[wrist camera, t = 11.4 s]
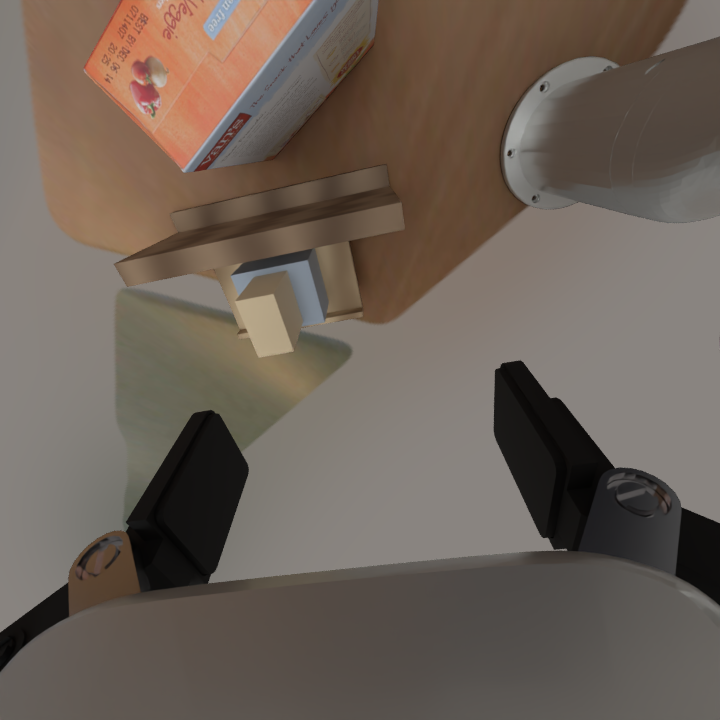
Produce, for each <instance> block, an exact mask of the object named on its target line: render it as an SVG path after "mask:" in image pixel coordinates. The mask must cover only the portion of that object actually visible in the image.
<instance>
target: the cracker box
mask: <svg viewBox="0 0 720 720" xmlns="http://www.w3.org/2000/svg"><path fill="white" fill-rule="evenodd" d="M377 10H378V0H121V1H120V3H119V4H118V6H117V8H116V10H115V12H114V14H113V15H112V17H111V19H110V21H109V23H108V25H107V26H106V28H105V30H104V32H103V34H102V35H101V37H100V39H99V41H98V43H97V45H96V46H95V48H94V50H93V52H92V53H91V55H90V57H89V59H88V61H87V63H86V65H85V67H84V71H85V73H86V74H87V75H88V76H89V77H90V78H91V79H92V80H93V81H94V82H95V83H96V84H97V85H98V86H99V87H100V88H101V89H102V90H103V91H104V92H105V93H106V94H107V95H108V96H109V97H110V98H111V99H112V100H113V101H114V102H115V103H116V104H117V105H118V106H119V107H120V108H121V109H122V110H123V111H124V112H125V113H126V114H127V115H128V116H129V117H130V118H131V119H132V120H133V121H134V122H135V123H136V124H137V125H138V126H139V127H140V128H141V129H142V130H143V131H144V132H145V133H146V134H147V135H148V136H149V137H150V138H151V139H152V140H153V141H154V142H155V143H156V144H157V145H158V146H159V147H160V148H161V149H162V150H163V151H164V152H165V153H166V154H167V155H168V156H169V157H170V158H171V159H172V160H173V161H174V162H175V163H176V164H177V165H178V166H179V167H180V168H181V170H182V171H183V172H195V171H201V170H206V169H213V168H220V167H227V166H234V165H240V164H247V163H253V162H260V161H267V160H273V159H274V158H275V157H276V156H277V154H278V153H279V152H280V151H281V150H282V149H283V148H284V147H285V145H286V144H287V143H288V142H289V141H290V140H291V139H292V137H293V136H294V135H295V134H296V133H297V132H298V131H299V129H300V128H301V127H302V126H303V125H304V124H305V123H306V121H307V120H308V119H309V118H310V117H311V116H312V115H313V113H314V112H315V111H316V110H317V109H318V108H319V107H320V105H321V104H322V103H323V102H324V101H325V100H326V99H327V97H328V96H329V95H330V94H331V93H332V92H333V90H334V89H335V88H336V87H337V86H338V85H339V84H340V82H341V81H342V80H343V79H344V78H345V77H346V76H347V74H348V73H349V72H350V71H351V70H352V69H353V68H354V66H355V65H356V64H357V63H358V62H359V61H360V60H361V58H362V57H363V56H364V55H365V54H366V53H367V52H368V50H369V49H370V48H371V47H372V46H373V44H374V39H375V29H376V20H377Z"/></svg>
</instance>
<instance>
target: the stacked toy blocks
mask: <svg viewBox="0 0 720 720" xmlns="http://www.w3.org/2000/svg"><path fill="white" fill-rule="evenodd" d="M231 278H232V281H233V283H234V286H235V288H236V290H237V293H238V295H239V297H238V298H237V299H236V300H235V303H236V306H237V308H238V310H239V313H240V315H241V317H242V320H243V322H244V324H245V327H246V329H247V332H248V334H249V336H250V339H251V341H252V343H253V346H254V348H255V350H256V353H257V355H258V357H265V356H270V355H276V354H282V353H288V352H293V351H294V349H295V346H296V343H297V340H298V336H299V333H300V330H301V327H303V326H308V325H314V324H319V323H324V322H325V320H326V314H327V309H328V304H329V300H328V296H327V293H326V289H325V285H324V281H323V277H322V274H321V270H320V266H319V262H318V258H317V254H316V251H315V248H313V249H308V250H303V251H298V252H293V253H288V254H284V255H279V256H274V257H269V258H264V259H259V260H255V261H250V262H245V263H242V264H241V265H240V266H239V267H238V268H237V269H236V270H235V271H234V273H233V274H232V275H231Z"/></svg>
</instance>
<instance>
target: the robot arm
mask: <svg viewBox="0 0 720 720" xmlns="http://www.w3.org/2000/svg"><path fill="white" fill-rule="evenodd" d="M603 71H604V72H603ZM540 85H542V86H543V89H542V91H541V92H540ZM509 150H510V152H511V153H510V155H509V156H507V153H508V151H509ZM500 160H501V169H502V173H503V177H504V180H505V183H506V184H507V186H508V188H509V190H510V191H511V192H512V193H513V195H514V196H515V197H516V198H517V199H519V200H520V201H522V202H523V203H525V204H527V205H529V206H532V207H535V208H540V209H559V208H564V207H567V206H570V205H573V204H575V203H578V202H582V203H586V204H590V205H594V206H598V207H602V208H606V209H609V210H613V211H618V212H621V213H625V214H629V215H633V216H637V217H642V218H646V219H650V220H654V221H659V222H666V223H687V222H694V221H700V220H705V219H709V218H713V217H716V216H719V215H720V37H717V38H714V39H711V40H707V41H704V42H701V43H697V44H694V45H691V46H687V47H684V48H681V49H677V50H674V51H671V52H667V53H664V54H660V55H657V56H654V57H650V58H647V59H644V60H640V61H637V62H634V63H630V64H627V65H624V66H619V65H618V64H617V63H615V62H613V61H611V60H608V59H606V58H602V57H594V56H590V57H582V58H576V59H573V60H570V61H568V62H565V63H563V64H561V65H559V66H557V67H554V68H552V69H551V70H550V71H548V72H547V73H545V74H544V75H543V76H541V77H540V78H539V79H538V80H537V81H536V82H535V83H534V84H532V85H531V86H530V87H529V88H528V90H527V91H526V92H525V93H524V95H523V96H522V97H521V99H520V100H519V101H518V103H517V105H516V106H515V108H514V110H513V112H512V114H511V115H510V118H509V120H508V123H507V125H506V128H505V131H504V135H503V139H502V144H501V156H500ZM533 196H534V199H533V200H532V197H533ZM719 345H720V340H719ZM494 395H495V397H494V435H495V438H496V441H497V443H498V445H499V447H500V449H501V452H502V454H503V456H504V458H505V460H506V462H507V464H508V466H509V469H510V471H511V473H512V475H513V478H514V480H515V482H516V484H517V486H518V488H519V490H520V493H521V495H522V497H523V499H524V501H525V503H526V505H527V508H528V510H529V512H530V514H531V516H532V518H533V521H534V523H535V525H536V527H537V529H538V531H539V533H540V535H541V536H542V537H543V538H549V540H550V542H551V544H552V546H553V548H554V550H556V549H567V551H538V552H537V551H535V552H519V553H507V554H494V555H483V556H470V557H459V558H450V559H439V560H430V561H418V562H408V563H398V564H388V565H378V566H368V567H359V568H349V569H340V570H330V571H321V572H311V573H301V574H291V575H282V576H273V577H264V578H255V579H246V580H236V581H227V582H218V583H209V584H208V581H209V578H210V576H211V574H212V573H214V572H215V570H216V568H217V566H218V562H219V560H220V557H221V554H222V551H223V548H224V545H225V542H226V539H227V536H228V533H229V530H230V527H231V524H232V521H233V518H234V515H235V512H236V509H237V506H238V503H239V500H240V497H241V494H242V491H243V488H244V485H245V482H246V479H247V476H248V472H249V469H248V464H247V462H246V461H245V459H244V457H243V456H242V453H241V452H240V450H239V448H238V446H237V445H236V443H235V441H234V439H233V437H232V436H231V434H230V432H229V430H228V429H227V427H226V425H225V423H224V421H223V420H222V418H221V416H220V415H219V414H216V413H215V412H214V411H212V410H209V411H202V412H196V413H194V414H193V415H192V416H191V418H190V419H189V421H188V422H187V424H186V426H185V427H184V429H183V431H182V432H181V434H180V435H179V437H178V439H177V440H176V442H175V443H174V445H173V447H172V448H171V450H170V452H169V453H168V455H167V456H166V458H165V460H164V461H163V463H162V465H161V466H160V468H159V469H158V471H157V473H156V474H155V476H154V478H153V479H152V481H151V482H150V484H149V486H148V487H147V489H146V490H145V492H144V494H143V495H142V497H141V499H140V500H139V502H138V503H137V505H136V507H135V508H134V510H133V512H132V513H131V515H130V516H129V518H128V520H127V521H126V523H127V524H128V525H129V527H128V529H127V531H126V532H124V531H122V530H120V531H112V532H109V533H106V534H104V535H102V536H101V537H99V538H97V539H96V540H95V541H93V542H92V543H91V544H89V545H88V546H87V547H86V548H85V549H84V550H83V551H82V552H81V553H80V554H79V556H78V557H77V558H76V560H75V561H74V563H73V565H72V567H71V569H70V571H69V577H68V583H67V584H66V585H64V586H63V587H62V588H60V589H59V590H57V591H56V592H55V593H53V594H52V595H51V596H49V597H48V598H46V599H45V600H44V601H42V602H41V603H40V604H38V605H37V606H36V607H34V608H33V609H32V610H30V611H29V612H27V613H26V614H25V615H23V616H22V617H21V618H19V619H18V620H17V621H15V622H14V623H13V624H11V625H10V626H8V627H7V628H6V629H4V630H3V631H2V632H0V720H720V523H718V522H715V521H713V520H711V519H708V518H706V517H703V516H701V515H698V514H696V513H694V512H691V511H689V510H687V509H684V508H682V507H681V503H680V500H679V499H678V497H677V495H676V493H675V492H674V491H673V490H672V489H671V488H670V487H669V486H668V485H667V484H666V483H665V482H663V481H662V480H660V479H658V478H657V477H655V476H653V475H651V474H649V473H646V472H644V471H641V470H637V469H633V468H614V466H613V465H612V464H611V463H610V461H609V460H608V459H607V457H606V456H605V455H604V454H603V453H602V451H601V450H600V449H599V447H598V446H597V445H596V444H595V442H594V441H593V440H592V439H591V437H590V436H589V435H588V433H587V432H586V431H585V430H584V428H583V427H582V426H581V425H580V423H579V422H578V421H577V420H576V418H575V417H574V416H573V415H572V413H571V412H570V411H569V410H568V408H567V407H566V406H565V404H564V403H563V402H562V401H561V400H560V399H558V398H550V397H549V396H548V395H547V394H546V392H545V391H544V390H543V388H542V387H541V385H540V384H539V383H538V381H537V380H536V379H535V378H534V376H533V375H532V374H531V372H530V371H529V370H528V368H527V367H526V366H525V364H524V363H523V362H522V361H514V362H507V363H502V364H501V367H500V368H499V369H496V370H495V394H494Z"/></svg>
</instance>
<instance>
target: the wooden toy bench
mask: <svg viewBox="0 0 720 720" xmlns="http://www.w3.org/2000/svg"><path fill="white" fill-rule="evenodd" d="M170 216H171V219H172V221H173V223H174V225H175V227H176V229H177V231H178V233H176V234H174V235H172V236H170V237H168V238H166V239H164V240H162V241H160V242H158V243H156V244H154V245H152V246H150V247H148V248H146V249H144V250H142V251H139V252H137V253H135V254H133V255H131V256H129V257H127V258H125V259H123V260H121V261H119V262H117V263H115V264H114V265H115V267H116V269H117V270H118V272H119V274H120V275H121V277H122V279H123V280H124V282H125V284H126V286H127V287H129V286H133V285H138V284H143V283H147V282H153V281H157V280H162V279H167V278H172V277H177V276H182V275H187V274H192V273H196V272H201V271H206V270H211V269H214V271H215V273H216V275H217V278H218V280H219V282H220V284H221V286H222V289H223V291H224V294H225V296H226V298H227V300H228V303H229V304H230V307H231V309H232V312H233V314H234V316H235V319H236V321H237V323H238V325H239V328H240V331H239V332H238V334H237V336H238V338H239V339H244V338H249V337H250V336H249V334H248V332H247V329H246V327H245V324H244V322H243V320H242V317H241V315H240V313H239V310H238V308H237V306H236V303H235V300H236V299H237V298H238V297H239V295H238V293H237V290H236V288H235V286H234V283H233V281H232V278H231V275H232V274H233V273H234V271H235V270H236V269H237V268H238V267H239V266H240V265H241V264H242V263H245V262H250V261H255V260H259V259H264V258H269V257H274V256H279V255H284V254H288V253H293V252H298V251H303V250H308V249H313V248H315V251H316V254H317V258H318V262H319V266H320V270H321V274H322V277H323V281H324V285H325V289H326V293H327V296H328V300H329V304H328V309H327V314H326V320H325V322H324V323H319V324H314V325H308V326H303V327H301V328H304V327H310V326H315V325H321V324H326V323H331V322H337V321H343V320H348V319H354V318H359V317H363V305H362V300H361V295H360V290H359V285H358V280H357V275H356V270H355V266H354V261H353V256H352V251H351V246H350V242H349V241H351V240H356V239H361V238H366V237H371V236H376V235H381V234H385V233H390V232H395V231H400V230H405V226H404V218H403V209H402V202H401V201H400V199H399V198H398V197H397V195H396V194H395V193H394V191H393V190H392V189H391V187H390V186H389V179H388V172H387V164H383V165H379V166H374V167H370V168H366V169H361V170H357V171H352V172H348V173H344V174H339V175H335V176H330V177H326V178H322V179H317V180H313V181H309V182H304V183H300V184H295V185H291V186H287V187H282V188H278V189H273V190H269V191H265V192H260V193H256V194H251V195H247V196H243V197H238V198H234V199H229V200H225V201H221V202H216V203H212V204H208V205H203V206H199V207H194V208H190V209H186V210H181V211H177V212H173V213H170Z"/></svg>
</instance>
